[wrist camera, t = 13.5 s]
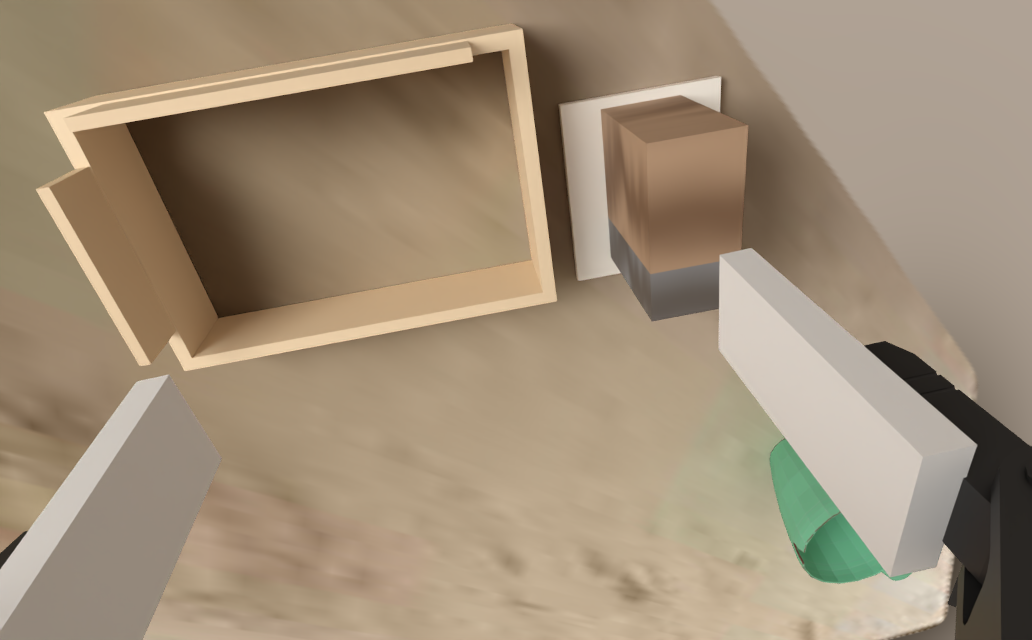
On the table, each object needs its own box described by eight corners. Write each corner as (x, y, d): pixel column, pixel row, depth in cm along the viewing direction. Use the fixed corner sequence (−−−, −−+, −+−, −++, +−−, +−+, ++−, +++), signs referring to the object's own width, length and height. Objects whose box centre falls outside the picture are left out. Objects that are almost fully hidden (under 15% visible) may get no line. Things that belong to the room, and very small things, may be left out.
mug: (722, 461, 53) (777, 554, 44) (811, 393, 50) (889, 477, 41) (806, 525, 59) (869, 617, 50) (890, 467, 56) (972, 555, 47)
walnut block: (600, 109, 35) (646, 143, 28) (680, 94, 35) (748, 125, 28) (610, 257, 40) (652, 321, 33) (680, 244, 41) (738, 305, 33)
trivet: (558, 103, 35) (560, 105, 35) (717, 75, 36) (721, 77, 35) (576, 277, 42) (578, 281, 41) (711, 252, 42) (715, 255, 41)
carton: (96, 95, 32) (-4, 127, 25) (511, 23, 33) (532, 33, 26) (211, 329, 40) (161, 406, 33) (544, 268, 41) (567, 329, 34)
